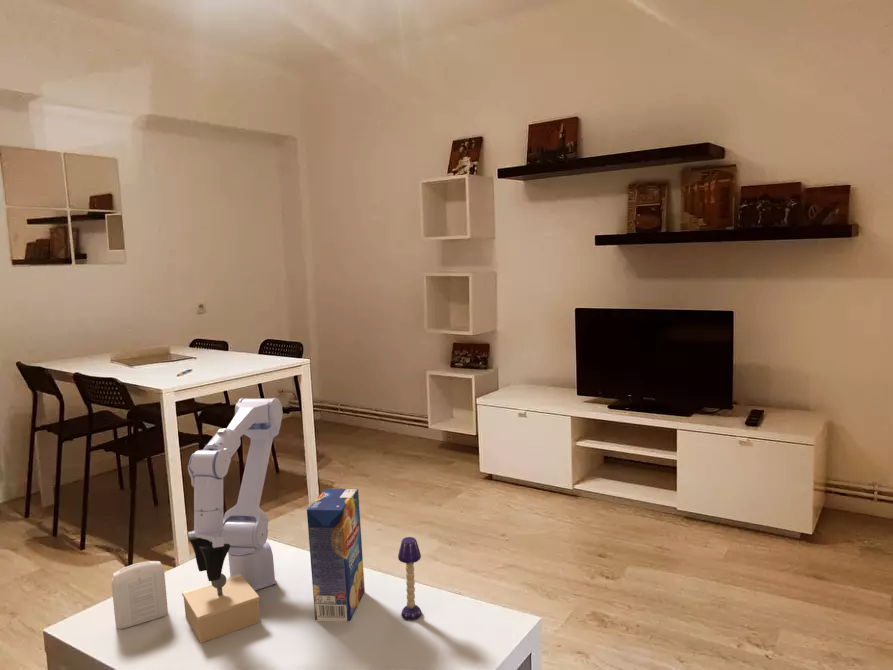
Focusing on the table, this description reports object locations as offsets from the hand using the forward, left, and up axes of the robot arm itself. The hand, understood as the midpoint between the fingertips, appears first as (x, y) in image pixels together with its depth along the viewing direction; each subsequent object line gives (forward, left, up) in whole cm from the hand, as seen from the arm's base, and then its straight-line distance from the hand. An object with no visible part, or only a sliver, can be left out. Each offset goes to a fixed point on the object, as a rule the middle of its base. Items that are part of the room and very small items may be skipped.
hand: (209, 575), depth 139 cm
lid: (-2, 0, -5) cm, 6 cm away
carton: (-2, 0, -11) cm, 11 cm away
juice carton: (-24, +11, -11) cm, 28 cm away
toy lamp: (-34, +24, -11) cm, 43 cm away
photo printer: (+12, -11, -11) cm, 20 cm away
